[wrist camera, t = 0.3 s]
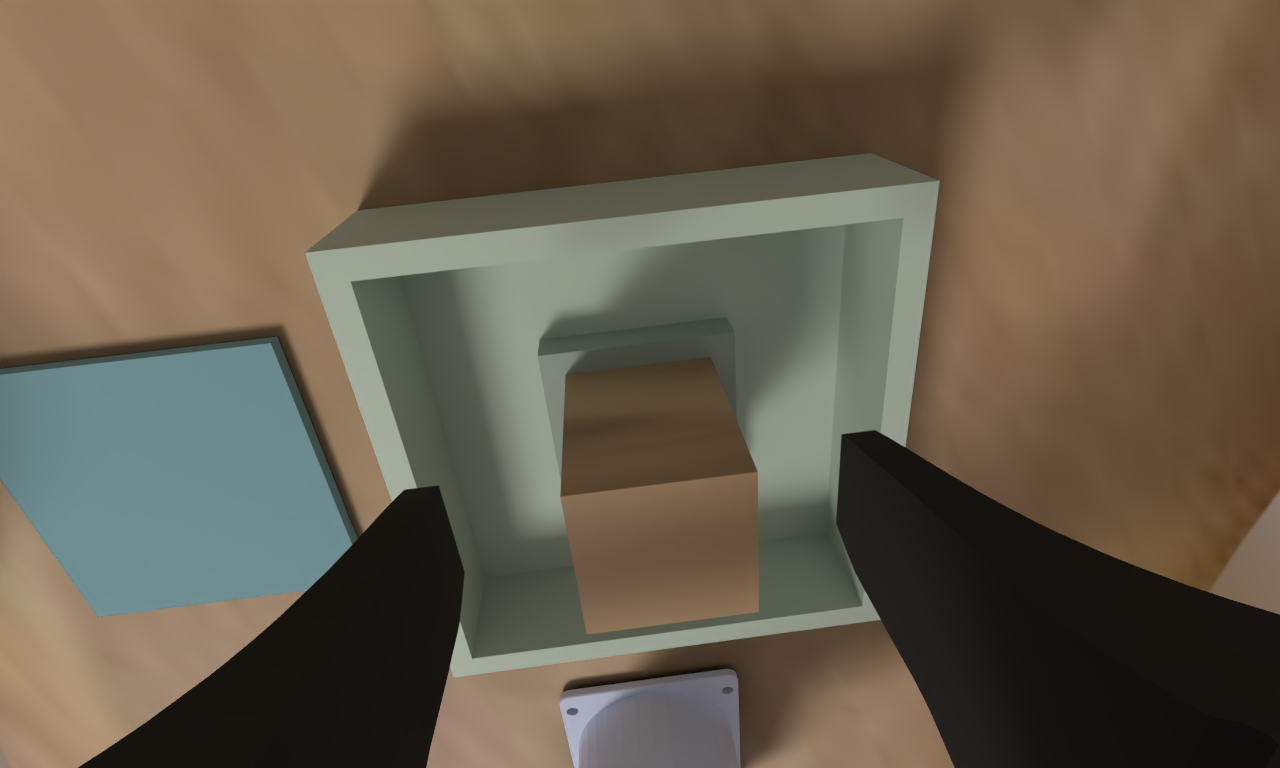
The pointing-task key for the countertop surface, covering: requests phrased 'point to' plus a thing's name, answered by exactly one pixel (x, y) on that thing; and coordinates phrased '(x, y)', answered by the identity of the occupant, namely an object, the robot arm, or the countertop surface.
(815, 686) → the countertop surface
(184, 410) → the teal mat
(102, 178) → the countertop surface
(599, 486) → the walnut block
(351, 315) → the crate
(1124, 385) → the countertop surface
